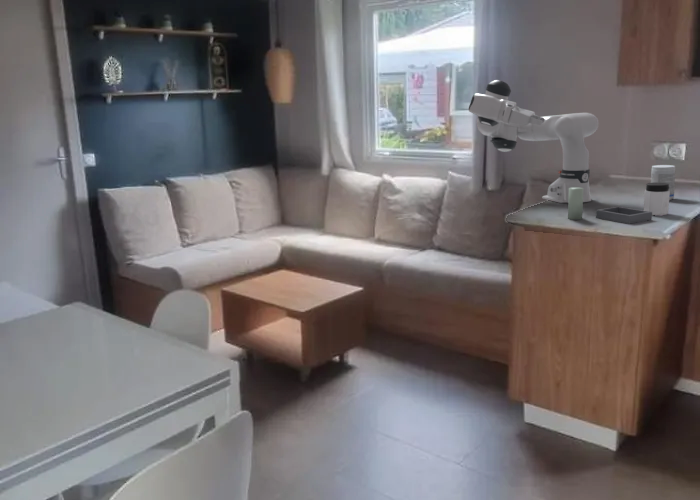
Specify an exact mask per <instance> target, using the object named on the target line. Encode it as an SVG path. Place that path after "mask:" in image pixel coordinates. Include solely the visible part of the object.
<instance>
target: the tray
mask: <svg viewBox="0 0 700 500" xmlns="http://www.w3.org/2000/svg"><path fill="white" fill-rule="evenodd" d="M652 217H653V215H652V212H649V211H644V209H643V210H642V209H636V208H630V207H624V206H612V207H607V208H600V209H596V210H595V219H601V220H607V221H610V222H615V223H616V222H617V223H623V224H627V223H628V225H631V224H630V223H632V224H636V222H638V223H642V222H641V221H643V222H648V221H647V220H649V221H652V219H653V218H652Z"/></svg>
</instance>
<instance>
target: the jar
mask: <svg viewBox="0 0 700 500" xmlns="http://www.w3.org/2000/svg"><path fill="white" fill-rule="evenodd" d="M669 196H670V191H669V184H668V183H651V182H647V183H646V186H645V189H644V196H643V197H644V198H643V199H644V200H643V211H649V212H652V216H653V215H655V216H657V217H659V216H661V217H662V216H666V215H669V209H670V208H669V206H670V200H669Z"/></svg>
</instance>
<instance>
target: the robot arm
mask: <svg viewBox="0 0 700 500" xmlns="http://www.w3.org/2000/svg"><path fill="white" fill-rule="evenodd" d="M511 92H512V90H511V87H510V85H509V84H508V83H507V82H505V81H503V80H499V79H495V80H492V81H490V82H489V83H487V85H486V89H485V93H483V94H482V93H474V94H473V95H472V97H471V99H470V102H469V106H468V112H470V113H471V114H474V115H476V116H477V119H476V126H477V130H478V132H480V134H482V135H483V136H485V137H486V136H487V137H491V140H490V143H492V145H493V147H494V148H495V150H498V151H499V152H503V153H504V152H505V153H506V152H507V153H508V152H511V151H513V150H514V149H516V147H517V143H518V142H517V140H518V138H519V139H520V140H522V141H530V142H541V141H542V142H543V141H557V140H560V145H561V149H562V169H561V170H559V171H558V174H559V177H558V178H557V179H556V180H555V181H553V182H552V183H550V185H549V186H548V189H547V194H545V195H543V196H541V198H542V199H543V200H548V201H551V202H555V203H559V204H560V203H561V204H564V203H567V204H568V199H569V188H573V187H580V188H583V203H588V202H592V197H591V192H590V191H591V190H590V182H589V179H590V168H589V165H590V151H589V149H588V148H587V146H586V143H585V138H588V137H590V136H592V135H593V134H594V133H596V131H598V129H599V126H600V122H599V119H598V116H597V117H596V115H595V114H593V113H590V112H574V113H565V114H557V115H556V114H554V115H545V116H539V115H537V114H536V111H532V110H530V109H525V108H522V107H521V108H520V106H517V102H515V101H511V100H508V99H509V97H510V95H511Z"/></svg>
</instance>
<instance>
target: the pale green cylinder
mask: <svg viewBox="0 0 700 500" xmlns="http://www.w3.org/2000/svg"><path fill="white" fill-rule="evenodd" d="M567 204H568V206H567V219H568V220H570V221H571V220H572V221H578V220H583V213H584V212H583V209H584V202H583V188H580V187H573V188H569V199H568V203H567Z"/></svg>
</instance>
